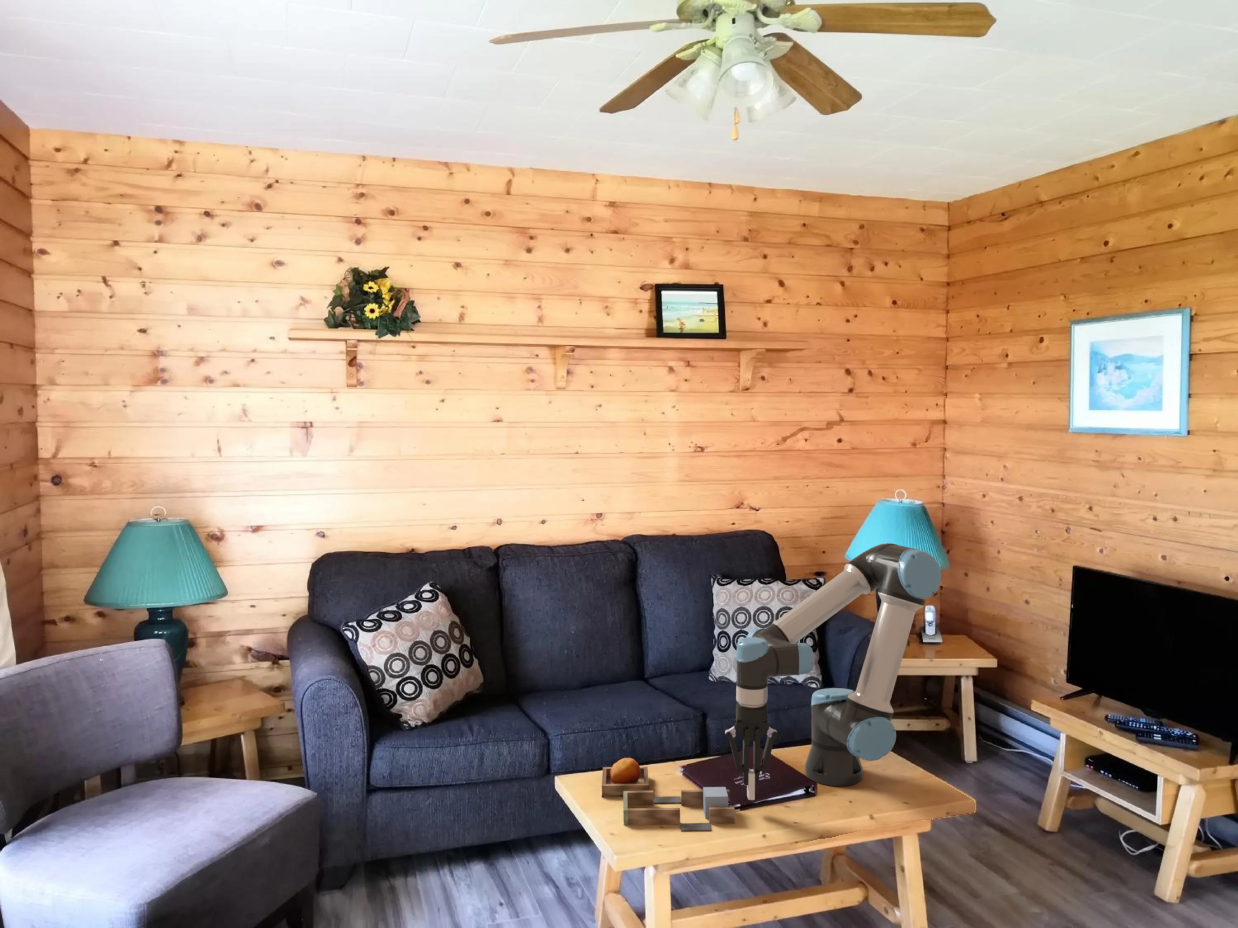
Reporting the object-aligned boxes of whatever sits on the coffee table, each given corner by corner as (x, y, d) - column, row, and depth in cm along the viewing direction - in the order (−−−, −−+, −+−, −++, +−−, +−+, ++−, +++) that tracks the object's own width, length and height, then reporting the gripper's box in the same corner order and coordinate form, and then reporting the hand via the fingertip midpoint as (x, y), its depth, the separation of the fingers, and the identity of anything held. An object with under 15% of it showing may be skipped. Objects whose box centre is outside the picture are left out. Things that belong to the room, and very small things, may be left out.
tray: (647, 777, 244) (647, 766, 244) (648, 796, 232) (648, 784, 232) (603, 777, 244) (602, 766, 244) (602, 796, 232) (601, 785, 232)
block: (725, 808, 225) (725, 786, 225) (728, 818, 219) (727, 796, 219) (703, 808, 225) (703, 787, 225) (705, 818, 219) (705, 796, 219)
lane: (727, 796, 231) (727, 783, 231) (736, 830, 213) (736, 815, 213) (623, 797, 232) (623, 784, 231) (623, 831, 213) (623, 817, 213)
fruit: (645, 786, 233) (628, 759, 233) (619, 800, 235) (603, 773, 235) (649, 774, 241) (634, 748, 241) (625, 787, 242) (609, 761, 243)
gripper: (775, 697, 224) (774, 790, 225) (723, 697, 224) (722, 790, 226) (781, 707, 217) (780, 804, 218) (726, 707, 217) (725, 803, 218)
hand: (750, 797), depth 222 cm, fingers closed
